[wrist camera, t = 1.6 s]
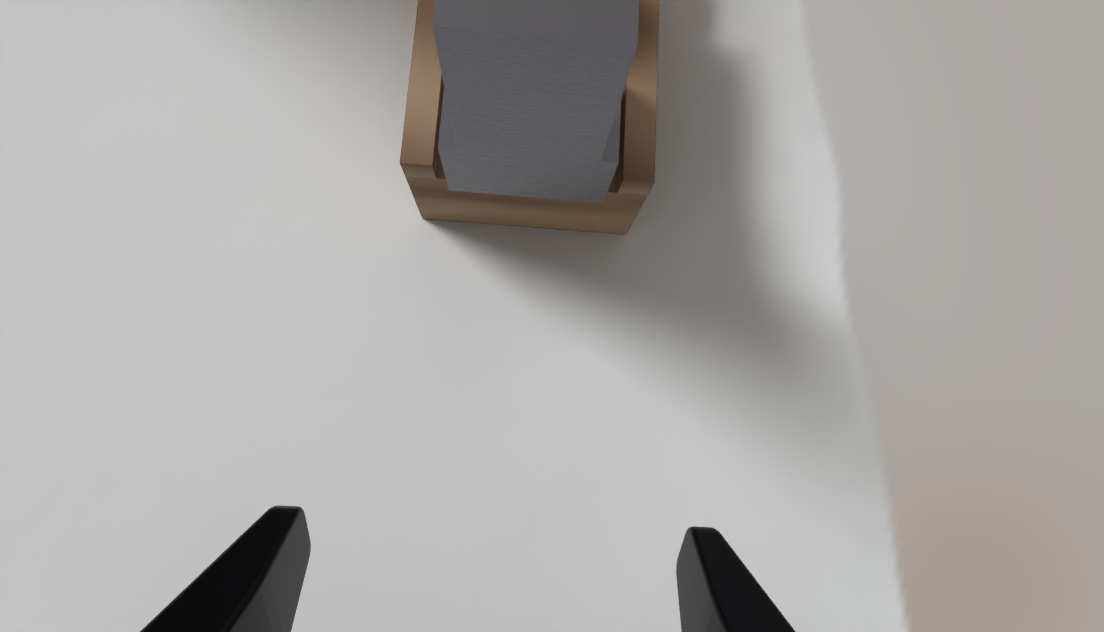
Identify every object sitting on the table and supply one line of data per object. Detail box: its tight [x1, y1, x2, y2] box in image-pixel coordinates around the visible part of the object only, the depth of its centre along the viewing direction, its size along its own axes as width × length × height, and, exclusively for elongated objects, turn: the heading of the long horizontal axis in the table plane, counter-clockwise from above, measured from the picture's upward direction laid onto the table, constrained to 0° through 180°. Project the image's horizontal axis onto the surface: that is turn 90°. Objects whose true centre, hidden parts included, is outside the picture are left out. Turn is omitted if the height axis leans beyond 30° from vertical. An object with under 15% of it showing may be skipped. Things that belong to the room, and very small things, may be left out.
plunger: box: [432, 0, 639, 203], centre depth 16 cm, size 4×5×8 cm
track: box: [400, 0, 659, 234], centre depth 23 cm, size 10×8×5 cm
